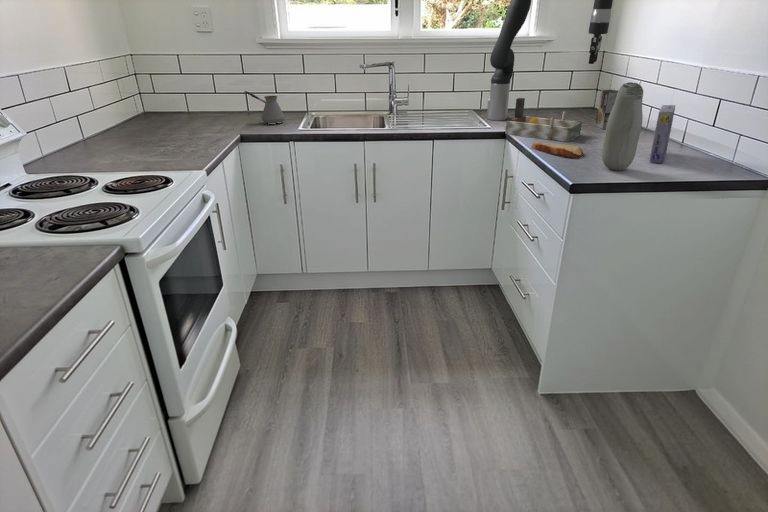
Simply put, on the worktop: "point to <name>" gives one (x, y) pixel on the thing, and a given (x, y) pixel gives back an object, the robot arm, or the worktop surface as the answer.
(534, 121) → the ball
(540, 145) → the bread slice
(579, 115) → the worktop surface
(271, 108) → the coffee pot
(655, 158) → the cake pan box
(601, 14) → the robot arm
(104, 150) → the worktop surface
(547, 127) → the beige and green tray
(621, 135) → the grey bottle
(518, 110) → the block
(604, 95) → the coffee box
